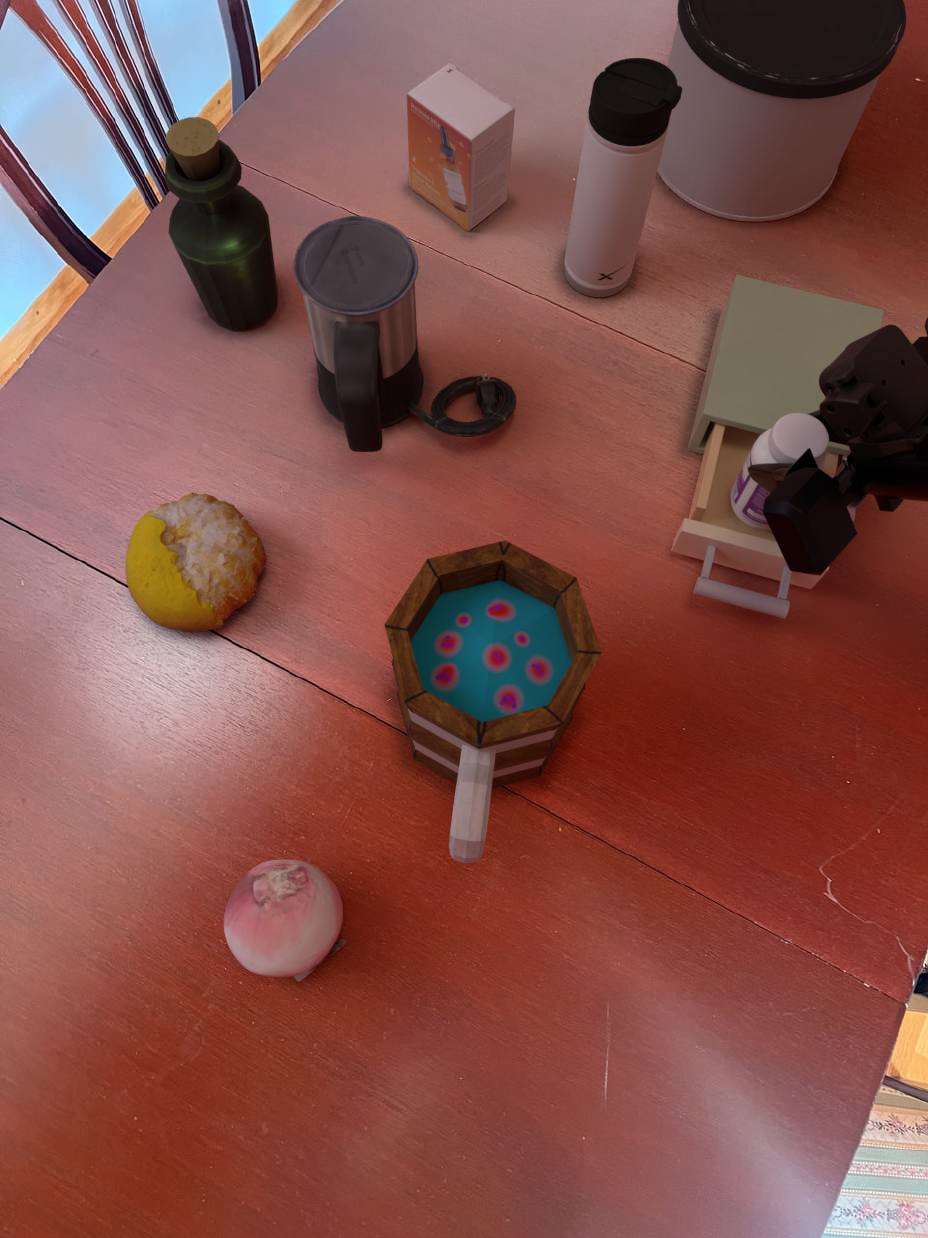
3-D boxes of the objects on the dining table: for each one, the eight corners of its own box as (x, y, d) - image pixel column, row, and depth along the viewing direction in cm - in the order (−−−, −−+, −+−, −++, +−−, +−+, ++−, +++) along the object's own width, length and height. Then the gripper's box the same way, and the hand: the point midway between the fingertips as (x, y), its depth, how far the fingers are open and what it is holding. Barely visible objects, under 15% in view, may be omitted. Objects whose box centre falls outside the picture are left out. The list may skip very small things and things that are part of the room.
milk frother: (306, 354, 84) (278, 229, 70) (475, 311, 86) (480, 181, 72) (349, 490, 79) (328, 384, 66) (528, 440, 81) (544, 328, 68)
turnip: (350, 865, 68) (339, 851, 62) (348, 980, 65) (336, 979, 59) (238, 867, 68) (215, 853, 61) (231, 983, 65) (205, 982, 59)
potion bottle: (210, 261, 88) (153, 88, 71) (296, 273, 88) (259, 102, 71) (186, 333, 85) (121, 170, 68) (276, 345, 85) (232, 185, 68)
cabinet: (833, 488, 80) (860, 453, 75) (686, 450, 81) (703, 413, 76) (858, 351, 85) (884, 309, 80) (719, 317, 86) (736, 273, 81)
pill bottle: (809, 510, 76) (856, 445, 67) (758, 544, 75) (798, 481, 66) (765, 462, 78) (805, 391, 69) (714, 494, 77) (748, 426, 68)
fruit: (278, 632, 74) (226, 598, 67) (159, 653, 77) (96, 622, 69) (276, 503, 78) (227, 458, 71) (163, 527, 81) (105, 486, 73)
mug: (410, 613, 75) (400, 527, 61) (580, 634, 75) (610, 552, 61) (369, 866, 68) (348, 833, 54) (557, 891, 68) (584, 865, 54)
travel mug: (615, 310, 87) (661, 122, 68) (551, 281, 88) (578, 88, 69) (645, 262, 89) (697, 68, 70) (581, 235, 90) (616, 35, 71)
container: (611, 118, 95) (638, -33, 81) (766, 56, 99) (819, -98, 85) (716, 250, 89) (765, 112, 75) (878, 180, 93) (953, 35, 79)
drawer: (802, 637, 74) (820, 619, 71) (659, 597, 75) (669, 578, 72) (836, 449, 80) (854, 424, 77) (703, 415, 82) (715, 388, 78)
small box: (408, 188, 92) (403, 91, 82) (449, 157, 93) (449, 58, 83) (468, 234, 90) (471, 140, 80) (509, 201, 91) (516, 105, 81)
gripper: (1028, 250, 56) (811, 279, 69) (844, 446, 51) (648, 437, 64) (1068, 406, 62) (859, 405, 75) (904, 598, 56) (711, 561, 70)
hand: (773, 448), depth 71 cm, fingers closed on pill bottle, 5 cm apart
